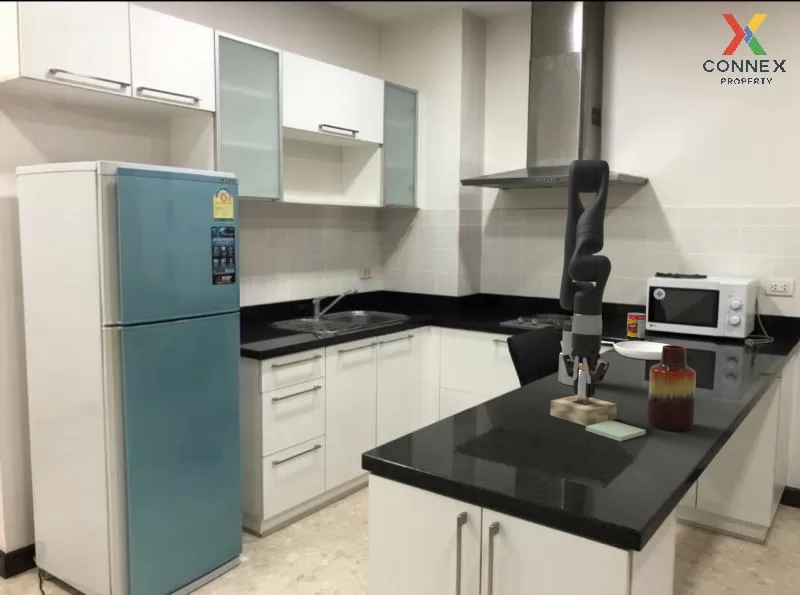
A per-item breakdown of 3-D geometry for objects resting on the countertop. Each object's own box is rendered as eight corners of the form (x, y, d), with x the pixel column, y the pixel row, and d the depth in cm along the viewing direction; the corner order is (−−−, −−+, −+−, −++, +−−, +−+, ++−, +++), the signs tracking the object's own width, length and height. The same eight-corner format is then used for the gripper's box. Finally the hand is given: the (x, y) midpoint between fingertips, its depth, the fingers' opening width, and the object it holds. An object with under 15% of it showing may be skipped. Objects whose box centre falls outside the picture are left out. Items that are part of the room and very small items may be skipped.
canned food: (632, 337, 309) (633, 312, 308) (647, 339, 303) (648, 314, 302) (623, 338, 304) (624, 313, 303) (638, 340, 298) (639, 315, 297)
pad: (585, 430, 159) (585, 426, 159) (610, 423, 165) (610, 420, 165) (620, 441, 151) (620, 437, 151) (645, 434, 157) (645, 430, 157)
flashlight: (573, 413, 171) (575, 362, 170) (581, 411, 173) (584, 360, 172) (583, 416, 168) (586, 364, 167) (592, 414, 170) (594, 362, 169)
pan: (675, 364, 244) (676, 353, 244) (573, 353, 264) (573, 343, 263) (683, 354, 266) (684, 344, 265) (588, 345, 285) (588, 335, 285)
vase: (652, 430, 160) (657, 349, 158) (642, 418, 171) (646, 342, 169) (698, 432, 159) (703, 351, 157) (685, 420, 169) (690, 344, 167)
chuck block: (550, 415, 172) (550, 400, 172) (579, 408, 179) (579, 394, 179) (586, 426, 162) (587, 410, 162) (616, 419, 169) (616, 404, 169)
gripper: (556, 328, 172) (553, 391, 174) (600, 335, 161) (596, 403, 162) (574, 326, 176) (571, 388, 178) (618, 333, 165) (615, 399, 167)
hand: (583, 395), depth 170 cm, fingers closed on flashlight, 3 cm apart
